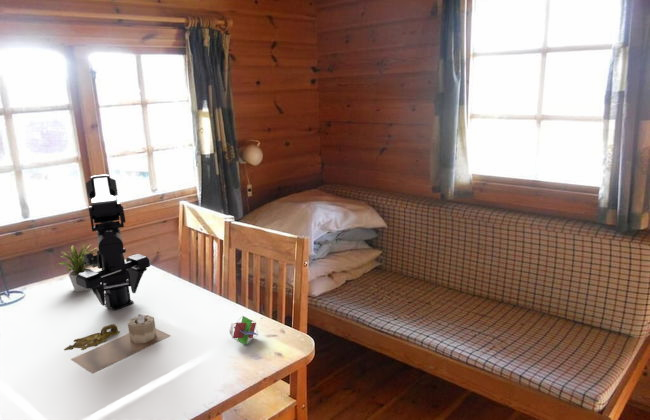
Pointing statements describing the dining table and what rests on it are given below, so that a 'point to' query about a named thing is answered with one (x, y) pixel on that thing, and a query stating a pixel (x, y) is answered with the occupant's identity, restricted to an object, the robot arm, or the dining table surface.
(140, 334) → the beech bead
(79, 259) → the house plant
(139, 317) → the steel post
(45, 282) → the dining table surface
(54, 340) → the dining table surface
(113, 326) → the olive gold carved ornament
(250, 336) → the geometric puzzle
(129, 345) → the board
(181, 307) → the dining table surface
